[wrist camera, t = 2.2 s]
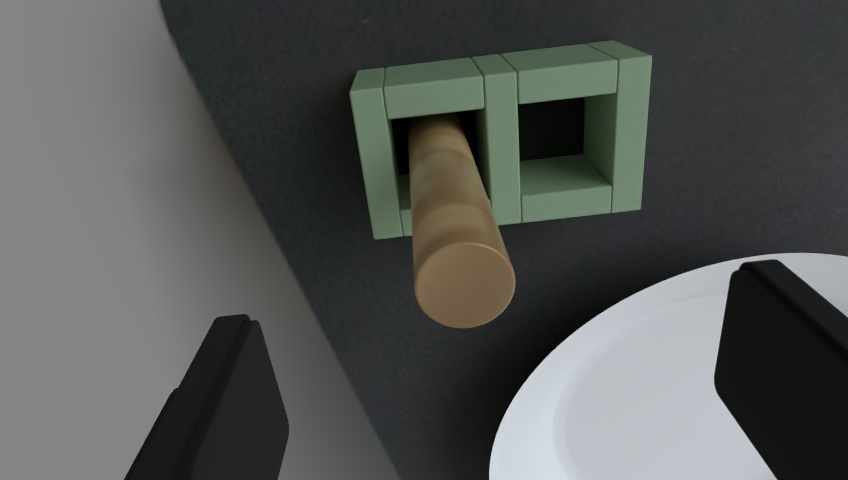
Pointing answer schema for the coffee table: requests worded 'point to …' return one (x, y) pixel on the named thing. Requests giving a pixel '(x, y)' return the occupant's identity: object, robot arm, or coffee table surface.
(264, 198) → the coffee table surface
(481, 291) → the stick
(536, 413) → the white plate
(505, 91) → the holder
